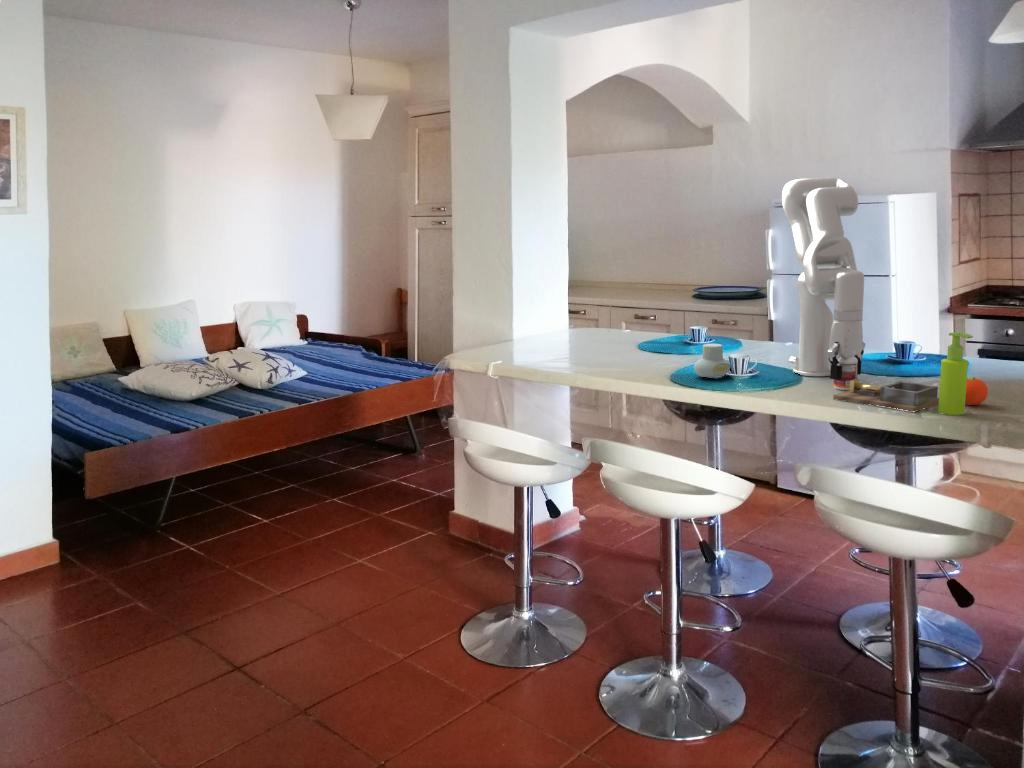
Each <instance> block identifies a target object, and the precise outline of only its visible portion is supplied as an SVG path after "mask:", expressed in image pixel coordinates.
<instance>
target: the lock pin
mask: <svg viewBox="0 0 1024 768" xmlns="http://www.w3.org/2000/svg"><path fill="white" fill-rule="evenodd" d="M860 381H861V380H860V379H858V378H857V379H854V380H850V392H856V391H859V390H861V389H863V390H870V391H876V393H879V394H880V388H881V387H883V385H877V384H870V383H865V382H864V383H862V382H860Z"/></svg>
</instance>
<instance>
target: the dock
mask: <svg viewBox="0 0 1024 768" xmlns="http://www.w3.org/2000/svg"><path fill="white" fill-rule="evenodd" d="M882 386H883V385H882ZM938 388H939V387H938V385H937V386H936V385H931V384H930V385H929V384H923V383H922V384H921V383H916V382H909V381H902V380H900V381H896V382H894V383H891V384H886V385H884V386H883V387H881V388H880V394H879V393H876V391H870V390H863V389H861V390H859V391H856V392H850V390H844V391H843V392H842V391H841V392H839V393H836V394H835V393H834V394H833V396H832V397H833V398H832V399H833V400H835V399H839V400H838V401H841V400H846V401H845V402H847V401H851V402H850V403H853V402H857V403H856V404H858V403H863V404H862V405H864V404H871V405H879V406H885V407H891V408H896V409H897V408H898V409H903V410H908V411H916V410H919V411H921V410H920V409H922V410H924V409H923V408H925V409H927V407H928V408H931V407H933V405H934V406H936V405H939V397H938V394H939V393H938ZM930 406H931V407H930Z"/></svg>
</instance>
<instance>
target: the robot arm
mask: <svg viewBox="0 0 1024 768" xmlns="http://www.w3.org/2000/svg"><path fill="white" fill-rule="evenodd" d="M781 201H782V208H783V212H784V214H785V216H786V219H787V221H788V224H789V225H790V227H791V230H792V235H793V241H794V246H795V247H794V248H795V252H796V257H797V260H798V264H800V266H802V271H803V272H801V274H800V275H799V276H798V279H797V291H798V297H799V300H798V301H799V336H798V337H799V338H798V339H799V341H798V342H799V344H798V356H790V357H789V359H788V363H789V364H791V365H795V366H794V367H792V368H793V369H792V372H793V373H794V372H795V373H798V374H800V375H799V376H805V377H829V376H830V377H829V379H831V380H834V379H836V380H841V379H842V366H840V365H841V363H842V361H843V359H844V358H848V357H850V356H851V354H852V352H853V351H855V355H854V357H856V358H857V360H858V370H857V376H859V375H861V373H862V360H863V356H864V352H865V348H866V343H865V342H864V339H863V338H864V336H863V335H864V334H863V319H864V316H863V315H864V313H863V312H864V290H865V274H864V273H863V271H859V270H858V269H857V265H856V264H857V263H856V260H855V254H854V249H853V246H852V243H851V241H850V240H849V239H848V238H847V237H846V236H845V232H844V226H843V223H842V218H841V217H847V216H849V217H850V216H853V215H854V214H855V213H856V212H857V210H858V206H859V198H858V194H857V192H856V190H855V188H853V186H851V185H850V184H848V183H847V182H845V181H844V180H843V179H842V178H840V177H810V178H809V177H808V178H806V177H805V178H797V179H793V180H790V181H788V182H787V183H786V184H784V187H783V188H782V193H781ZM827 301H828V302H829V301H833V312H832V310H831V308H830V307H829V306H828V304H827V303H826V302H827ZM837 358H839V360H837ZM795 373H794V374H795ZM798 374H797V375H798Z"/></svg>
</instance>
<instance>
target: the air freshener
mask: <svg viewBox="0 0 1024 768" xmlns="http://www.w3.org/2000/svg"><path fill="white" fill-rule="evenodd" d="M723 347H724V346H723V345H722V344H720V343H705V344H703V345H702V358H700V359H699V360H697V361H696V362H695V364H694V366H693V368H694V372H695V373H696V374H697V375H698V376H699V377H701V378H703V377H709V378H710V377H722V376H724V375H725V374H726V373H727V372H728V371H729V369H730V365H731V363H730V362H729V360H726V359H725V358H723V357H724V355H723V354H724V353H723V352H724V351H723ZM729 363H730V364H729Z"/></svg>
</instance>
